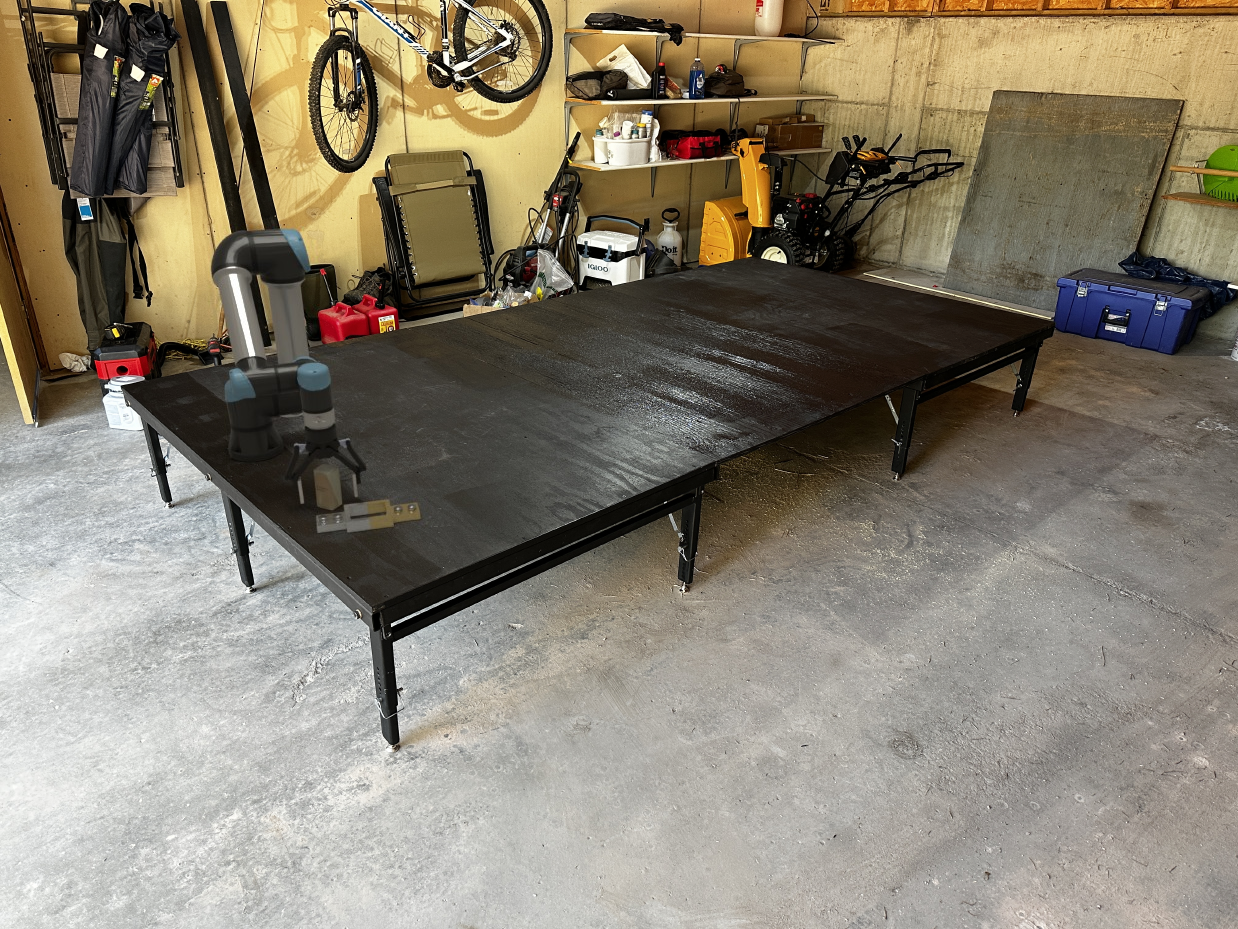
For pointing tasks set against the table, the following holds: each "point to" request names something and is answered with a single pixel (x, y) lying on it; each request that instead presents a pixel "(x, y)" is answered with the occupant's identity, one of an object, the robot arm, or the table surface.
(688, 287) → the table surface
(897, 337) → the table surface
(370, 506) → the link
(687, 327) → the table surface
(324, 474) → the box
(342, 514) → the link
